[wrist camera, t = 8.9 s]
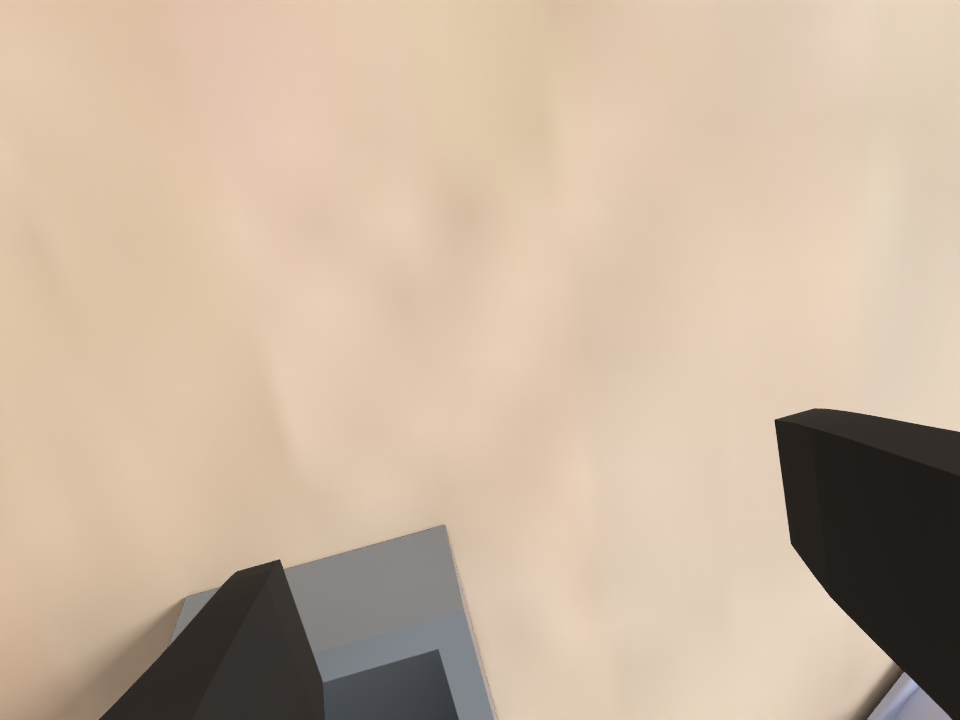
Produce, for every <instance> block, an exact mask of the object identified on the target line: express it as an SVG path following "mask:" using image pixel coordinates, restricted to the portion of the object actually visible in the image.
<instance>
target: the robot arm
mask: <svg viewBox="0 0 960 720" xmlns="http://www.w3.org/2000/svg"><path fill="white" fill-rule="evenodd" d="M775 427H776V435H777V442H778V450H779V457H780V465H781V472H782V480H783V487H784V495H785V502H786V510H787V517H788V525H789V532H790V540H791V544H792V546H793V547H794V549H795V550H796V551H797V553H798V554H799V556H800V557H801V558H802V560H803V561H804V562H805V564H806V565H807V567H808V568H809V569H810V571H811V572H812V574H813V575H814V576H815V577H816V579H817V580H818V581H819V583H820V584H821V585H822V587H823V588H824V589H825V590H826V592H827V593H828V594H829V596H830V597H831V598H832V599H833V600H834V601H835V602H836V603H837V604H838V605H839V606H840V607H841V608H842V609H843V610H844V611H845V612H846V614H847V615H848V616H849V617H850V618H851V619H852V620H853V621H854V622H855V623H856V624H857V625H858V626H859V627H860V628H861V629H862V630H863V631H864V632H865V633H866V634H867V635H868V636H869V637H870V638H871V639H872V640H873V641H874V642H875V643H876V644H877V645H878V646H879V647H880V648H881V649H882V650H883V651H884V652H885V653H886V654H887V655H888V656H889V657H890V658H891V659H892V660H893V661H894V662H895V663H896V664H897V665H898V666H899V667H900V668H901V669H902V670H903V671H904V673H903V674H902V675H901V676H900V678H899V679H898V680H897V682H896V683H895V684H894V685H893V687H892V688H891V689H890V691H889V692H888V693H887V694H886V696H885V697H884V698H883V699H882V701H881V702H880V703H879V705H878V706H877V707H876V708H875V710H874V711H873V712H872V714H871V715H870V716H869V717H868V719H867V720H960V432H957V431H951V430H946V429H940V428H935V427H930V426H924V425H919V424H914V423H908V422H903V421H898V420H893V419H887V418H882V417H877V416H871V415H866V414H860V413H853V412H847V411H840V410H831V409H811V410H807V411H804V412H800V413H797V414H793V415H790V416H786V417H783V418H779V419H776V420H775ZM99 720H325V711H324V694H323V681H322V678H321V675H320V672H319V669H318V666H317V663H316V661H315V658H314V655H313V652H312V649H311V646H310V644H309V641H308V638H307V635H306V632H305V629H304V626H303V624H302V621H301V618H300V615H299V612H298V609H297V606H296V604H295V601H294V598H293V595H292V592H291V589H290V587H289V584H288V581H287V578H286V575H285V572H284V569H283V567H282V564H281V561H280V560H276V561H272V562H269V563H265V564H262V565H258V566H255V567H251V568H248V569H244V570H241V571H237V572H235V573H234V574H233V575H232V576H231V577H230V578H229V579H228V580H227V581H226V582H225V583H224V584H223V585H222V586H221V587H220V588H219V590H218V591H217V592H216V593H215V594H214V595H213V596H212V597H211V599H210V600H209V601H208V602H207V603H206V604H205V606H204V607H203V608H202V609H201V610H200V611H199V612H198V614H197V615H196V616H195V617H194V618H193V619H192V621H191V622H190V623H189V624H188V625H187V626H186V627H185V629H184V630H183V631H182V632H181V633H180V634H179V635H178V637H177V638H176V639H175V640H174V641H173V642H172V643H171V645H170V646H169V647H168V648H167V649H166V650H165V651H164V652H163V654H162V655H161V656H160V657H159V658H158V659H157V660H156V661H155V662H154V663H153V664H152V666H151V667H150V668H149V669H148V670H147V671H146V672H145V673H144V674H143V675H142V676H141V677H140V678H139V679H138V680H137V681H136V682H135V683H134V684H133V685H132V686H131V687H130V688H129V689H128V691H127V692H126V693H125V694H124V695H123V696H122V697H121V698H120V699H119V700H118V701H117V702H116V703H115V704H114V705H113V706H112V707H111V708H110V709H109V710H108V711H107V712H106V713H105V714H104V715H103V716H102V717H101V718H100V719H99Z"/></svg>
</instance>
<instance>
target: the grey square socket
mask: <svg viewBox="0 0 960 720" xmlns="http://www.w3.org/2000/svg"><path fill="white" fill-rule="evenodd" d="M284 572H285V575H286V578H287V581H288V584H289V587H290V589H291V592H292V595H293V598H294V601H295V604H296V606H297V609H298V612H299V615H300V618H301V621H302V624H303V626H304V629H305V632H306V635H307V638H308V641H309V644H310V646H311V649H312V652H313V655H314V658H315V661H316V663H317V666H318V669H319V672H320V675H321V678H322V681H323V694H324V711H325V720H498V717H497V713H496V710H495V706H494V702H493V699H492V695H491V691H490V688H489V684H488V680H487V676H486V673H485V669H484V665H483V662H482V658H481V654H480V651H479V647H478V643H477V640H476V636H475V632H474V629H473V625H472V621H471V618H470V614H469V610H468V607H467V603H466V599H465V596H464V592H463V588H462V585H461V581H460V577H459V574H458V570H457V566H456V563H455V559H454V555H453V552H452V548H451V544H450V541H449V537H448V533H447V529H446V526H445V525H442V526H439V527H435V528H432V529H428V530H424V531H421V532H417V533H414V534H410V535H406V536H403V537H399V538H396V539H392V540H388V541H385V542H381V543H378V544H374V545H371V546H367V547H363V548H360V549H356V550H353V551H349V552H345V553H342V554H338V555H335V556H331V557H328V558H324V559H320V560H317V561H313V562H310V563H306V564H302V565H299V566H295V567H292V568H288V569H285V570H284ZM218 590H219V588H216V589H213V590H209V591H206V592H202V593H198V594H195V595H191V596H188V597H186V599H185V601H184V604H183V607H182V610H181V613H180V615H179V618H178V621H177V624H176V627H175V629H174V632H173V635H172V638H171V641H170V643H169V646H170V645H171V643H172V642H173V641H174V640H175V639H176V638H177V637H178V635H179V634H180V633H181V632H182V631H183V630H184V629H185V627H186V626H187V625H188V624H189V623H190V622H191V621H192V619H193V618H194V617H195V616H196V615H197V614H198V612H199V611H200V610H201V609H202V608H203V607H204V606H205V604H206V603H207V602H208V601H209V600H210V599H211V597H212V596H213V595H214V594H215V593H216V592H217V591H218ZM169 646H168V647H169Z"/></svg>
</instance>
